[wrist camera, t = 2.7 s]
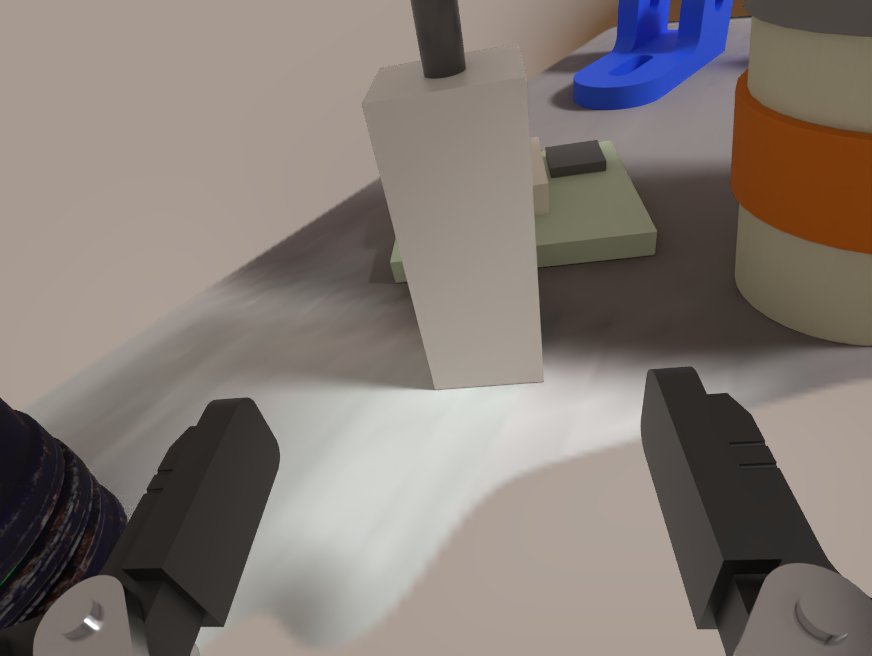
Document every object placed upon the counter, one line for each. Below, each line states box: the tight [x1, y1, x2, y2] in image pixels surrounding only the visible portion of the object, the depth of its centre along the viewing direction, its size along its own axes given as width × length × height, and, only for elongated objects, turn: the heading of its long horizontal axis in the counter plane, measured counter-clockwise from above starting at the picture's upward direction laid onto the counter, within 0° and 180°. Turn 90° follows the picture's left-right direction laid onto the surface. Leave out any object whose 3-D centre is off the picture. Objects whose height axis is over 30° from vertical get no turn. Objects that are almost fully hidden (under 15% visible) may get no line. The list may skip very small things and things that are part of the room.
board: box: [390, 137, 657, 283], centre depth 34 cm, size 15×13×4 cm
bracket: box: [574, 0, 733, 110], centre depth 49 cm, size 18×8×9 cm, turn 137°
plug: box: [362, 0, 544, 390], centre depth 20 cm, size 5×5×16 cm
